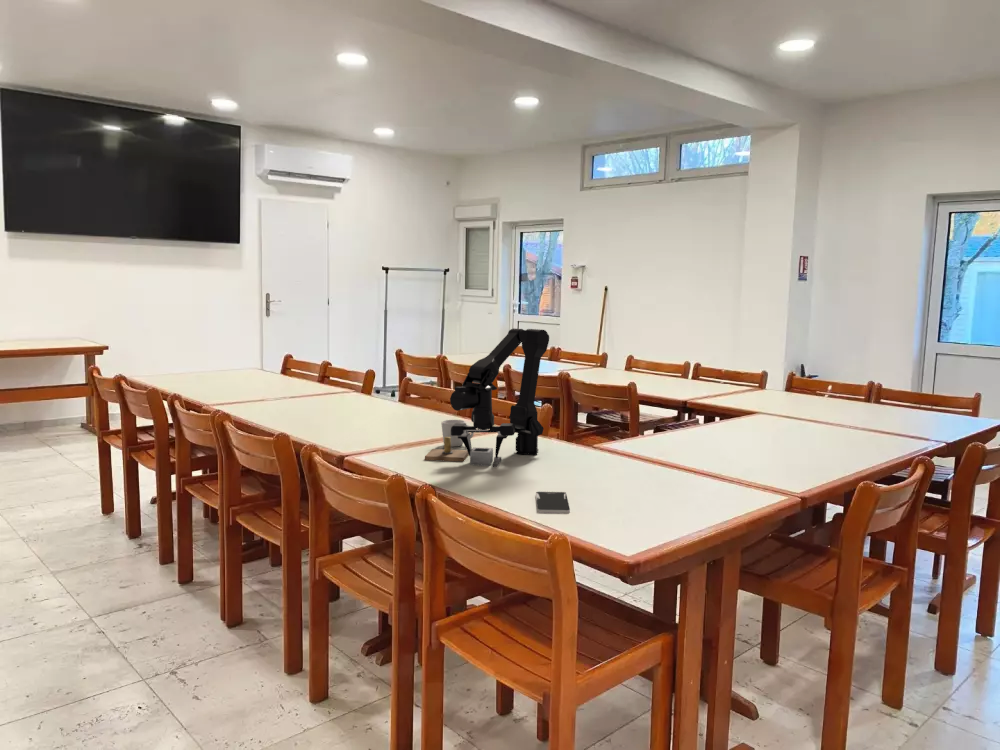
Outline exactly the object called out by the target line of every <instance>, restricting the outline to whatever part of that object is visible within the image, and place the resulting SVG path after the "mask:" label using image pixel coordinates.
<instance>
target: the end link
mask: <svg viewBox="0 0 1000 750" xmlns="http://www.w3.org/2000/svg"><path fill="white" fill-rule="evenodd" d="M493 462H494V448H493V447H472V450H471V451H470V456H469V466H483V467H484V466H488V467H490V466H491V465H492V464H493Z"/></svg>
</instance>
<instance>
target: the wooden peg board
mask: <svg viewBox="0 0 1000 750" xmlns="http://www.w3.org/2000/svg"><path fill="white" fill-rule="evenodd" d="M443 445H444V446H443V449H441V448H440V449H439V448H438V449H437V448H432V449H431V450H429V452H428V453H427V454H425V455H424V460H425V461H436V460H442V461H443V460H444V461H443V462H463V461H464V460H465V461H466V459H467V458H468V457H469V454H468V451H467V449H452V447H451V437H444V442H443ZM467 456H468V457H467ZM465 461H464V462H465Z"/></svg>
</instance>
